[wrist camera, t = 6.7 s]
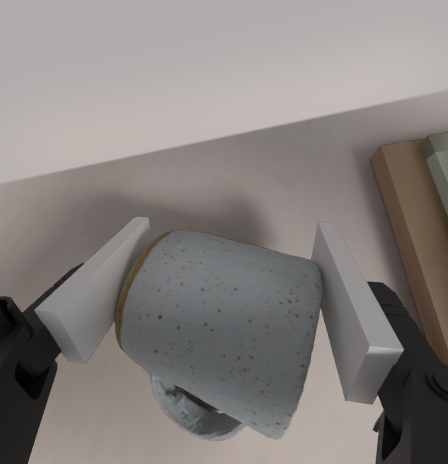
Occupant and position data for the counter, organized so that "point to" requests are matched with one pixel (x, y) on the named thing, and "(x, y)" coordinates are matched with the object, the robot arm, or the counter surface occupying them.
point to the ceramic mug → (221, 331)
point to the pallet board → (420, 225)
